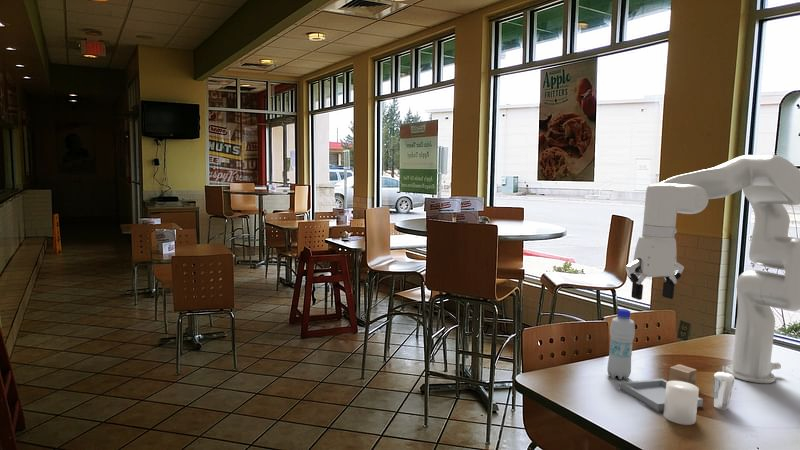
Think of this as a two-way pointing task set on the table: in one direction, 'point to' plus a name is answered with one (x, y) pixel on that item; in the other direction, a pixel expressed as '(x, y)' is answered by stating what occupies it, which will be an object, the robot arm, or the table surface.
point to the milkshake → (722, 389)
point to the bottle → (621, 345)
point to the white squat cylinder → (681, 402)
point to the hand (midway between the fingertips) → (652, 298)
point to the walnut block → (682, 374)
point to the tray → (649, 392)
